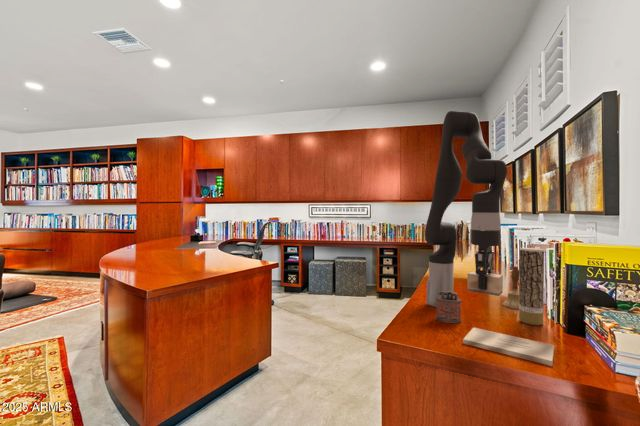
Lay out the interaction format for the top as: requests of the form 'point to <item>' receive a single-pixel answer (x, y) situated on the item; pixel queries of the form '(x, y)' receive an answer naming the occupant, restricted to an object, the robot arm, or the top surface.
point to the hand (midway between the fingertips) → (484, 287)
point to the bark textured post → (531, 286)
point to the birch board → (511, 345)
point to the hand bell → (513, 291)
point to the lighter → (448, 307)
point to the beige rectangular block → (492, 284)
